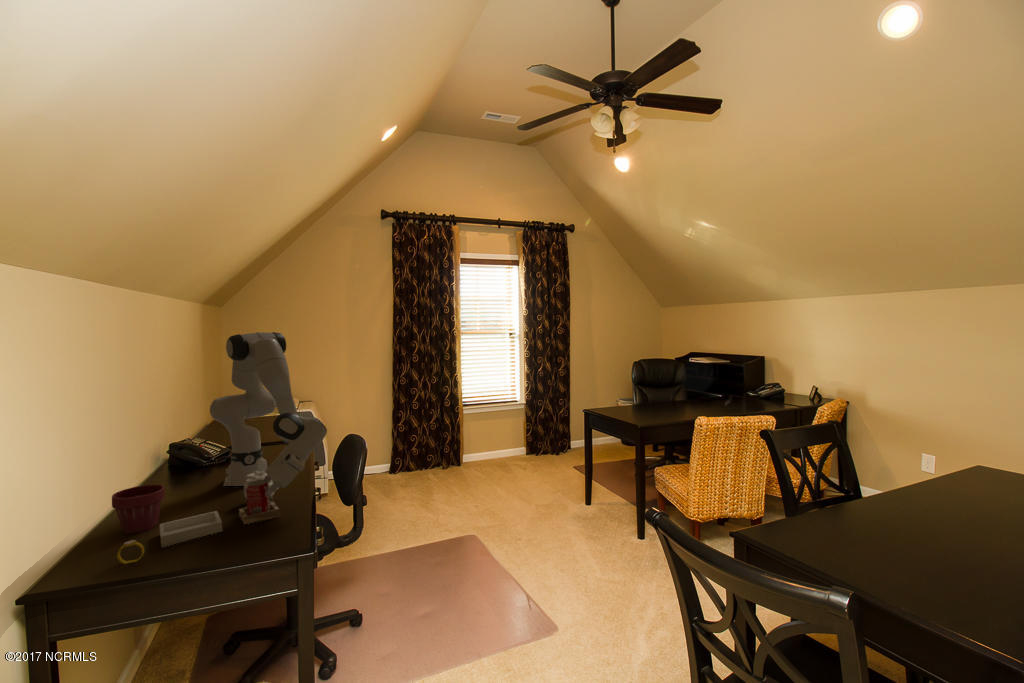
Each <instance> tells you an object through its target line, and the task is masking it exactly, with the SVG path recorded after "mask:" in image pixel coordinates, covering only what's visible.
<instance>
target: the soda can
mask: <svg viewBox="0 0 1024 683" xmlns="http://www.w3.org/2000/svg"><path fill="white" fill-rule="evenodd" d="M248 485H249V486H248V488H247V499H246V500H247V501H246V502H247V503H246V507H247V508H248V515H247V516H250V515H254V514H258V513H262V512H266V511H270V502H271V497H270V496H268V495H267V494H265V491H266V490H267V489H269V485H268V484H267V481H266V480H258V481H253V482H251V483H249V484H248Z"/></svg>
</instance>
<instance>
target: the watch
mask: <svg viewBox="0 0 1024 683" xmlns="http://www.w3.org/2000/svg"><path fill="white" fill-rule="evenodd" d="M131 546H138V547H139V549H141V553H140V554H141V555H140V556H138V558H137V559H131V560H125V559H124V558H122V556H121V552H122V549H124V548H125V547H127V548H128V547H131ZM144 554H145V546H144V545H143V544H142V543H141V542H140V541H139V542H138V541H137V540H136V539H133V540H132V539H131V540H128V541H125V542H124V543H123V545H121V547H120V548H119V550H118V551H117V553H116V559H117V560H118V562H119V563H121V564H123V565H128V564H132V563H137V562H139V561H140V560H141V559H142V558H143V556H144Z"/></svg>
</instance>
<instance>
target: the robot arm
mask: <svg viewBox="0 0 1024 683" xmlns="http://www.w3.org/2000/svg"><path fill="white" fill-rule="evenodd" d="M225 350H226V355H227V357H228V358H230V359H231V360H232V365H231V366H232V367H231V368H232V370H231V382H232V384H233V386H234V387H235V388H237V389H240V390H242V391H245V393H241V394H239V393H238V394H232V395H231V394H230V395H225V396H222V397H218V398H215V399H213V400H212V402H211V403H210V406H209V414H210V416H211V417H212V419H213V420H214V421H216V422H218V423H219V424H222V426H224V427H225V428H226V430H227V431H228V433H229V436H230V441H231V453H230V460H231V462H230V464H229V466H227V467H228V468H225V475H226V477H225V479H224V482H223V486H244V483H246V480H247V475H249V474H251V473H255V471H259V473H260V472H261V471H265V473H266V474H267V475H266V477H265V478H264V480H266V481H267V484H268V483H269V481H271V480H273V481H272V482H274V483H273V484H272V486H271V487H270V488H269V489H267V490H266V491H265V494H267V495H268V496H270V495H271V494H272V492H274V493H275V492H276V491H277V490H279V489H280V488H282V489H284V488H286V487H288V485H289V484H290V483H291V482H292V481H293V480H294V479H295V478H296V477H297V476H298V474H299V473H300V472H302V471H303V470H304V469H305V468H306V461H307V460H308V459H309V457H310V455H311V454H312V452H314V451H315V450H316V449H317V448H318V447H319V446H320V444H321V443H322V441H323V440H324V438H325V437H326V436H327V433H328V429H327V427H326V425H325V424H324V423H323V422H322V421H321V420H320V418H317V417H309V416H308V417H305V416H302V415H299V413H298V410H297V406H296V403H295V400H294V398H293V392H292V386H291V379H290V371H289V366H288V362H287V359H286V355H285V353H286V351H287V340H286V338H285V336H284V335H283V334H282V333H280V332H275V331H273V332H272V331H271V332H261V331H258V332H250V333H245V334H244V333H243V334H240V333H239V334H234V335H231V336H229V337H228V338H227V340H226V344H225ZM276 408H277V411H278V414H279V415H278V416H277V417H276V418H274V420H273V423H272V429H273V432H274V433H275V435H276V436H277V437H278V438H279V439H280V440H281V441H282V442H283V443H285V444H286V446H285V447H284V448H283V449H282V450H281V452H280V453H279V454H278V456H277V457H276V458H275V459H274V460H273V461H272V462H271V463H270V464H269V465H268V464H267V463H268V462H267V460H266V459H265V458H263V456H264V455H263V454H264V453H263V448H262V445H261V442H262V440H261V433H260V432H261V431H259V429H258V428H256V427H254V426H251V425H248V424H246V422H245V420H246V419H252V418H253V419H254V418H262V417H264V416H267V415H270V414H273V413H274V412H275V410H276ZM254 481H255V479H254ZM278 488H279V489H278ZM276 489H277V490H276Z"/></svg>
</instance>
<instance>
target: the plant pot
mask: <svg viewBox="0 0 1024 683" xmlns="http://www.w3.org/2000/svg"><path fill="white" fill-rule="evenodd" d="M165 495H166V492H165V486H164V485H162V484H157V483H156V484H154V483H153V484H145V485H139V486H133V487H129V488H125V489H121V490H118V491H117V492H115V493H112V495H111V507H112V508H113V509H115V511H116V514H117V517H118V520H119V523H120V526H121V528H122V533H124V534H136V533H137V534H138V533H142V532H145V531H148V530H151V529H153V528H154V527H156V526H157V525H158V522H159V517H160V512H161V507H162V500H163V499H165V497H166V496H165Z"/></svg>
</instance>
